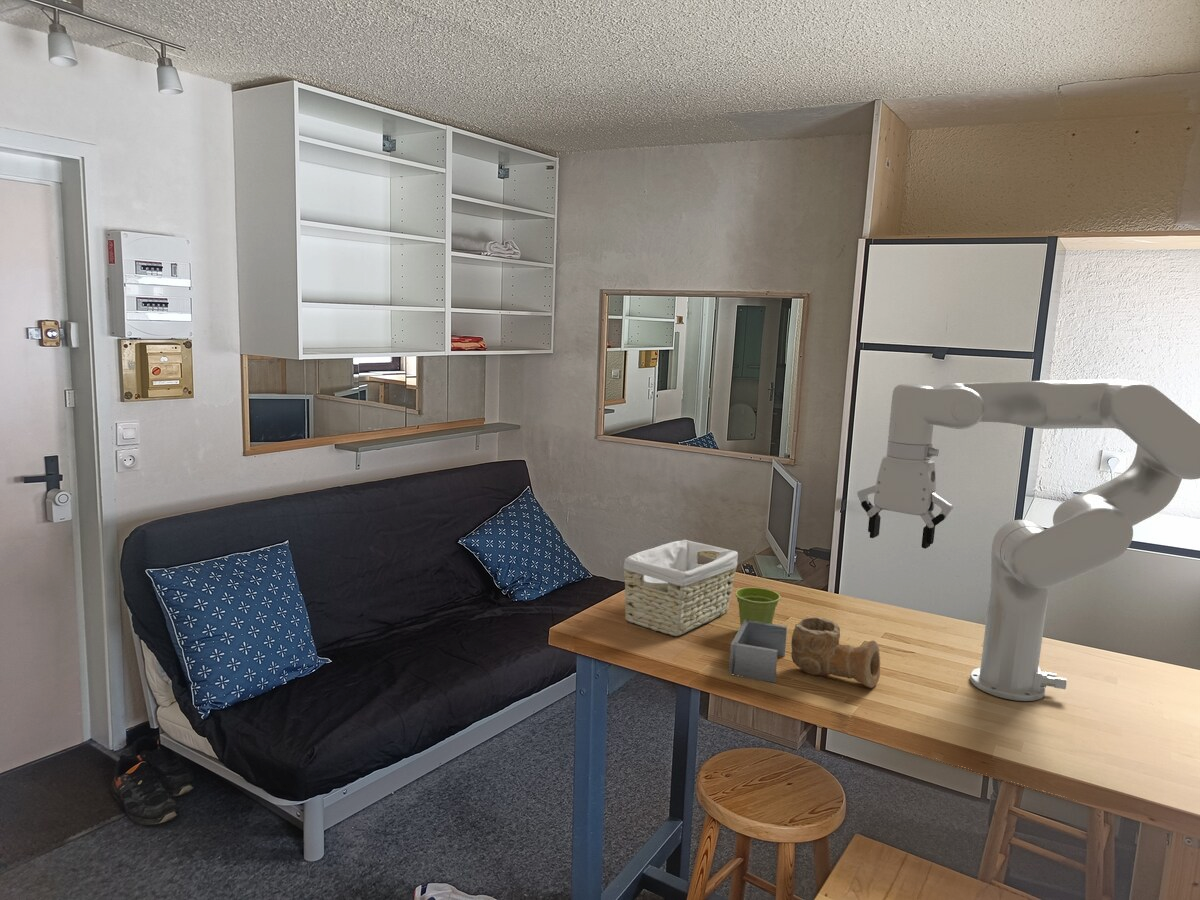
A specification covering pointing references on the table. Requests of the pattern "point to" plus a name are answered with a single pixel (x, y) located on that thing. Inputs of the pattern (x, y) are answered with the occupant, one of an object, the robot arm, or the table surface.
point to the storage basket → (678, 586)
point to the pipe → (833, 652)
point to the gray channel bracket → (757, 650)
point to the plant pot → (757, 604)
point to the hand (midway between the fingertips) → (899, 541)
